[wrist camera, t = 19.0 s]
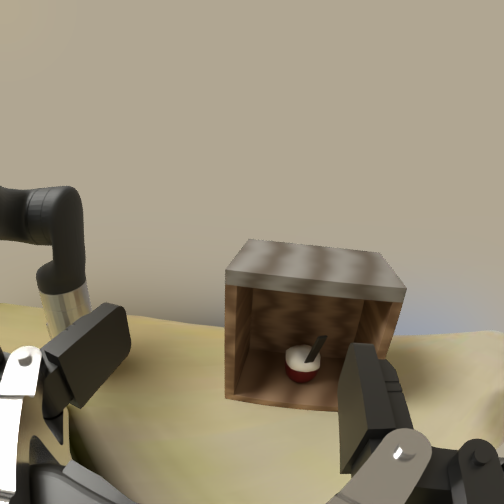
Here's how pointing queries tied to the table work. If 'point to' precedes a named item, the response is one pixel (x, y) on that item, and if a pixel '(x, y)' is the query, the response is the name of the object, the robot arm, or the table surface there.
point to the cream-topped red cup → (304, 361)
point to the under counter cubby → (303, 317)
